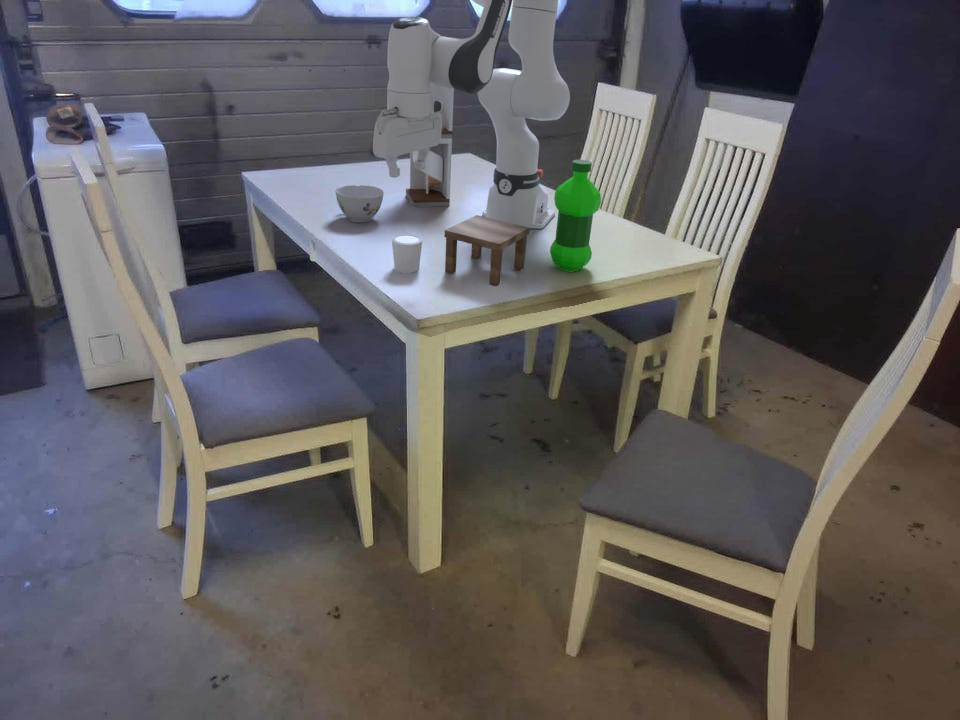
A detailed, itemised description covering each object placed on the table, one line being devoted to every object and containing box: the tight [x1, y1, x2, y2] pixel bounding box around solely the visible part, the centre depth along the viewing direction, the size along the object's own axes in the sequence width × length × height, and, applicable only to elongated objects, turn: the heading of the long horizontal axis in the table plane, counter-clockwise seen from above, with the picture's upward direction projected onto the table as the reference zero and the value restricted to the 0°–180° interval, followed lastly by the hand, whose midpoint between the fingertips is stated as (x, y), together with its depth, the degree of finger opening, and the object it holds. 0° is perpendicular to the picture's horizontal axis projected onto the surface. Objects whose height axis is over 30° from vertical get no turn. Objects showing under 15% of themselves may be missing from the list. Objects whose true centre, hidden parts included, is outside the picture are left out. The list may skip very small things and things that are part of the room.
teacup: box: [335, 184, 385, 223], centre depth 190 cm, size 15×12×8 cm
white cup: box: [391, 233, 423, 274], centre depth 161 cm, size 7×7×7 cm
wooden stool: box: [444, 214, 530, 287], centre depth 162 cm, size 14×14×10 cm
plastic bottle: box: [549, 159, 602, 273], centre depth 163 cm, size 10×10×25 cm
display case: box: [405, 84, 455, 208], centre depth 201 cm, size 11×11×35 cm
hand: (407, 172), depth 152 cm, fingers open, 8 cm apart
